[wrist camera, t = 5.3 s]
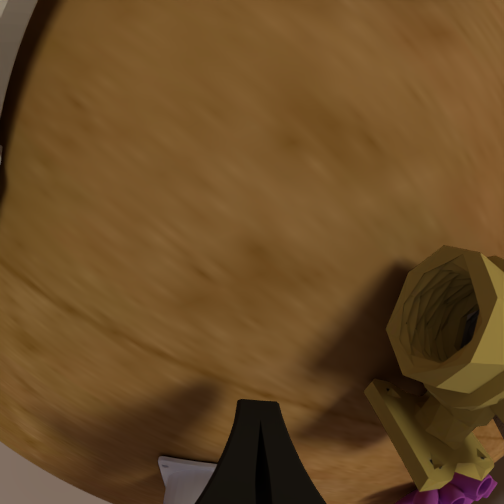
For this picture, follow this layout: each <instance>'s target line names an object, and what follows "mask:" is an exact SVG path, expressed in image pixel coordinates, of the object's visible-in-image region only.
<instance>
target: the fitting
mask: <svg viewBox="0 0 504 504" xmlns="http://www.w3.org/2000/svg"><path fill="white" fill-rule="evenodd" d="M493 420H494V421H495V423H496V425H497V427H498V429H499V431H500V433H501V435H502V437H503V439H504V423H503V422H502V421H501V420H500V419H499V417H498V416H497V415H496V414H495V416H494V417H493Z"/></svg>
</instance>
